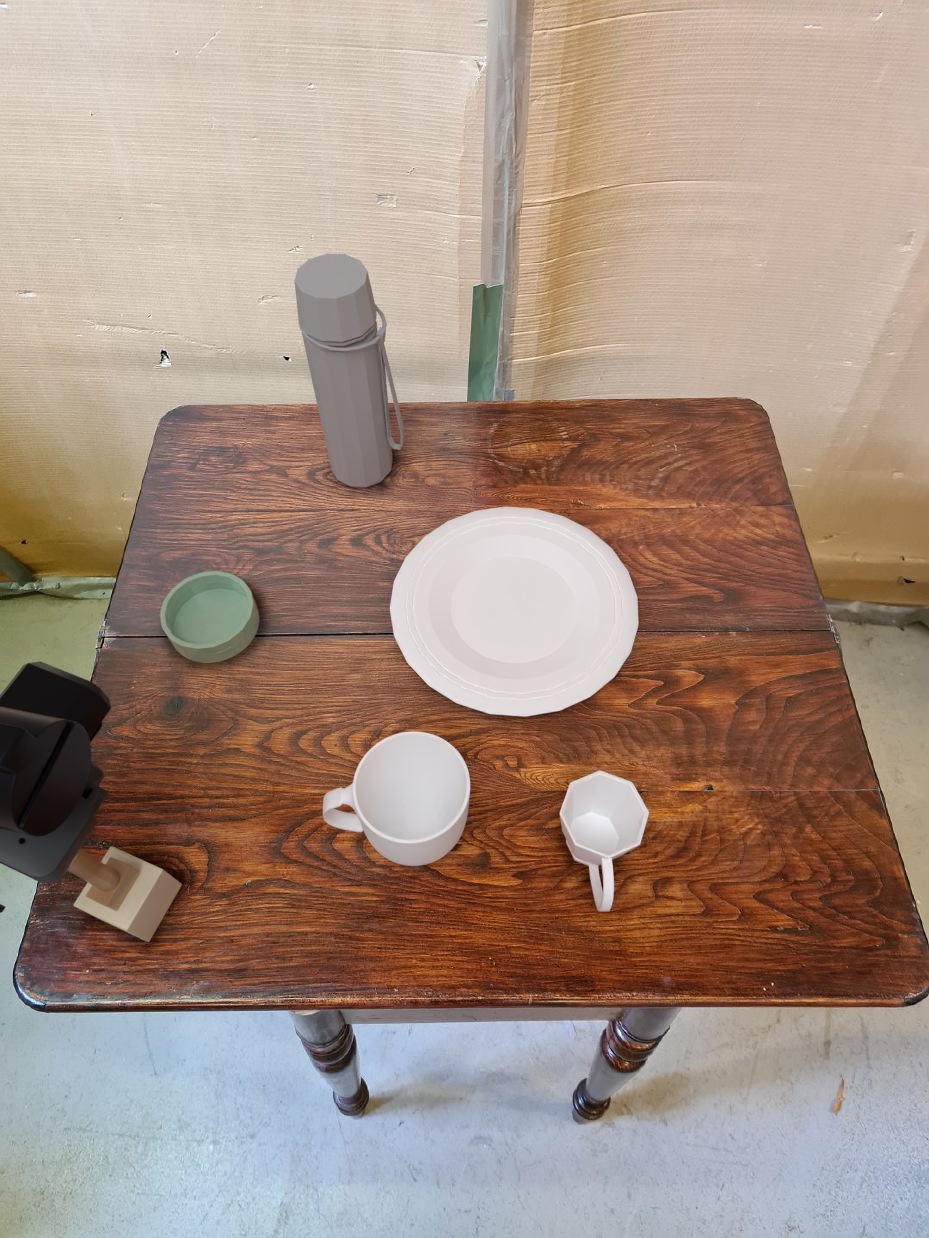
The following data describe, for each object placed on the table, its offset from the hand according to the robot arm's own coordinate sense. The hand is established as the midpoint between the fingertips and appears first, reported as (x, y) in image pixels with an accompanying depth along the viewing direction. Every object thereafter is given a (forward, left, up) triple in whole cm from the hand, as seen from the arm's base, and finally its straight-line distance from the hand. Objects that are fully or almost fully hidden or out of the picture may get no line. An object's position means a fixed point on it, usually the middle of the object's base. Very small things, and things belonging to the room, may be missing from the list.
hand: (41, 843), depth 56 cm
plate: (+22, +38, -13) cm, 46 cm away
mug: (+21, +13, -13) cm, 28 cm away
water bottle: (0, +50, -13) cm, 52 cm away
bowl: (-6, +26, -13) cm, 30 cm away
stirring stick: (+3, 0, -8) cm, 9 cm away
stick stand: (+3, 0, -13) cm, 13 cm away
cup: (+37, +17, -13) cm, 43 cm away
